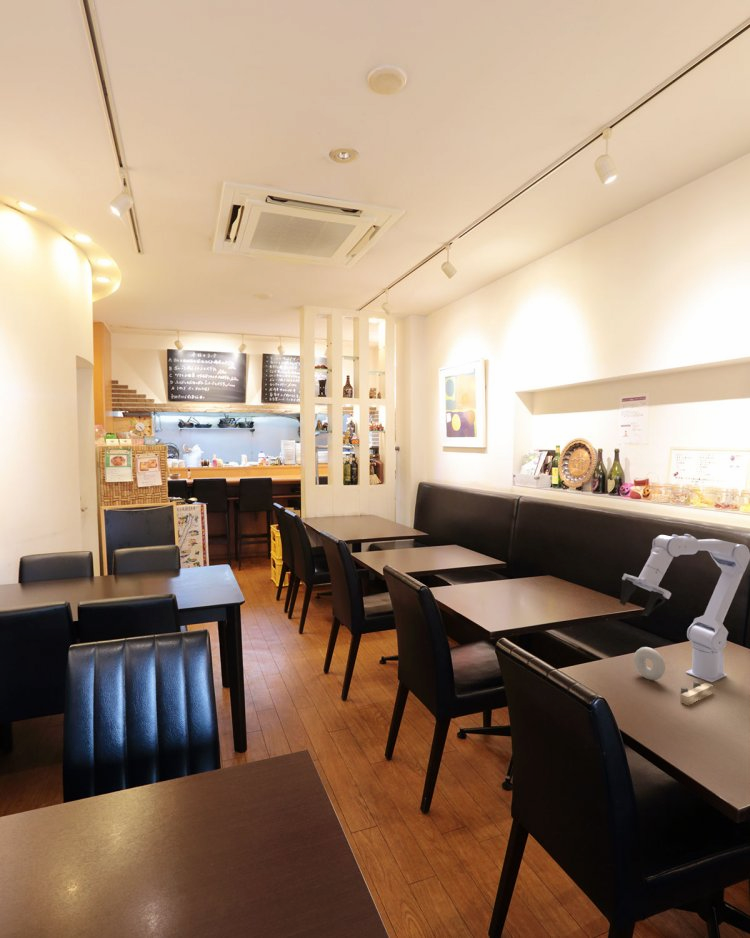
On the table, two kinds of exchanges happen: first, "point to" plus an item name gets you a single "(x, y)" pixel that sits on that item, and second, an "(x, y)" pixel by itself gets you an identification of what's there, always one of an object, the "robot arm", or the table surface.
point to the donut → (656, 660)
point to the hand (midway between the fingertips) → (633, 609)
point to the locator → (696, 692)
